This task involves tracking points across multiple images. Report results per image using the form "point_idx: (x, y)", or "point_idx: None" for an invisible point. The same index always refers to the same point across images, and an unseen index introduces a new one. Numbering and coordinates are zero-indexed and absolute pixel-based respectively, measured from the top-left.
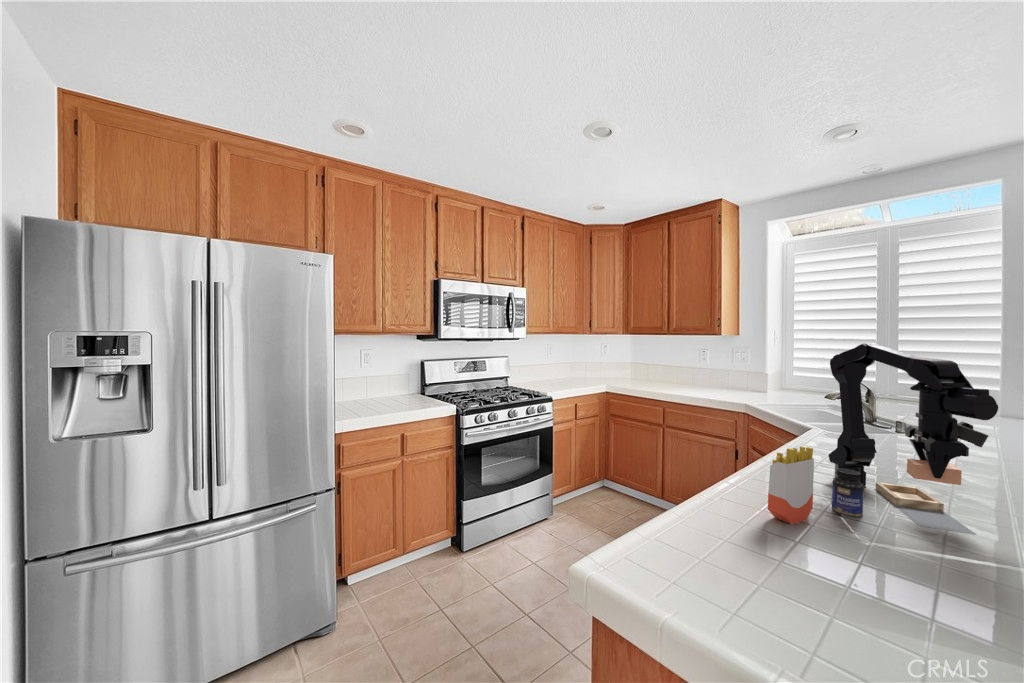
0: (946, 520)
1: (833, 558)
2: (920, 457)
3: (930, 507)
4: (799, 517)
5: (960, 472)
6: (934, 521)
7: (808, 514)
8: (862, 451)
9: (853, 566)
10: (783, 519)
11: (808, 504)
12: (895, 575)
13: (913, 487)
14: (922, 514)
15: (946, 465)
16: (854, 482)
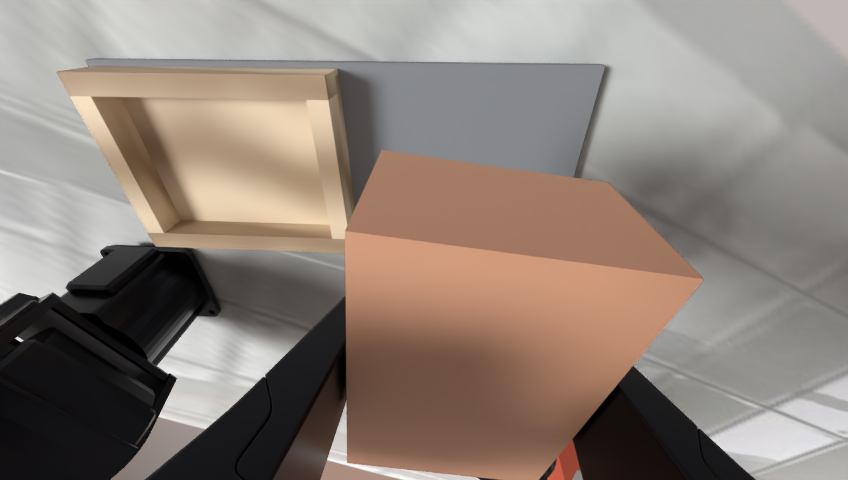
0: (459, 114)
1: (744, 430)
2: (328, 444)
3: (341, 126)
4: None
5: (681, 268)
6: None
7: None
8: (88, 436)
9: (779, 418)
10: None
11: (568, 461)
12: (828, 381)
13: (87, 105)
14: None
15: (717, 451)
16: (546, 475)
